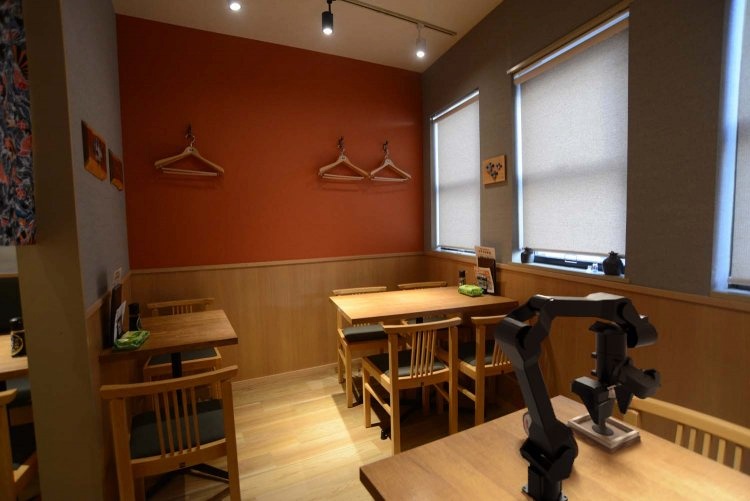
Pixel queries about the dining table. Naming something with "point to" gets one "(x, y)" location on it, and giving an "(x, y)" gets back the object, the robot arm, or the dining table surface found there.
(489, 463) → the dining table surface
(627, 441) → the board
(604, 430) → the sundae
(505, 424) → the dining table surface
